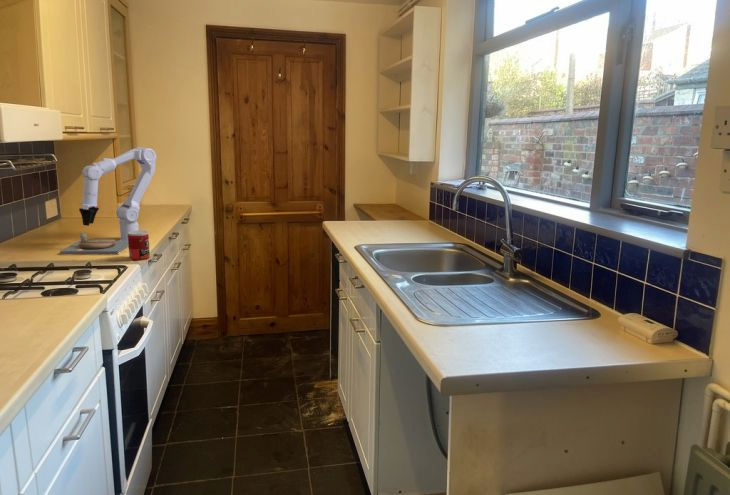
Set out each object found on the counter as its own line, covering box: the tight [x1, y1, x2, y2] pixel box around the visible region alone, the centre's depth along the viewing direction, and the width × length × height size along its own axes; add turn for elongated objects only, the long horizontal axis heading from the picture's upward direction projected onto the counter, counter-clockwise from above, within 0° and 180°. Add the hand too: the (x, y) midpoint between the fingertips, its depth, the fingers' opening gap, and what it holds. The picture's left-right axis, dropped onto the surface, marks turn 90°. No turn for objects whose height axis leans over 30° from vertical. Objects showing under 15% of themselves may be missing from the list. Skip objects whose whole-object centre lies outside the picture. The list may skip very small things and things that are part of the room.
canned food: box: [128, 229, 151, 262], centre depth 226 cm, size 8×8×11 cm
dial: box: [79, 232, 116, 249], centre depth 239 cm, size 14×14×5 cm
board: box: [60, 240, 129, 255], centre depth 239 cm, size 19×23×2 cm
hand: (88, 224), depth 242 cm, fingers open, 7 cm apart
